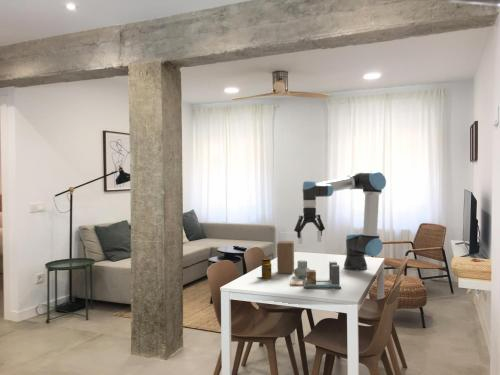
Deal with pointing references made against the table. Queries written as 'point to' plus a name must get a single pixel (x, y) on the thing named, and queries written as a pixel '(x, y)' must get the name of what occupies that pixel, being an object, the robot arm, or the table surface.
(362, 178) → the robot arm
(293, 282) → the cork trivet
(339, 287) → the lane rails
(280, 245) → the wooden block
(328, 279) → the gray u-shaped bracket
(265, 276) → the condiment
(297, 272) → the air freshener
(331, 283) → the grey l-shaped piece
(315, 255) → the table surface
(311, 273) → the walnut block
